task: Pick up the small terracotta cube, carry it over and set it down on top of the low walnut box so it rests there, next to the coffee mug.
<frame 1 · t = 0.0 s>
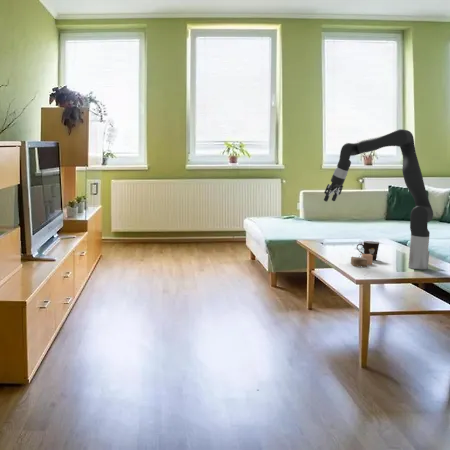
hand: (329, 200, 329), 31 cm above the table, tool tilted 20°, fingers open, 8 cm apart
walnut box: (358, 265, 296), on the table
coffee mug: (367, 259, 316), on the table
terracotta cube: (366, 263, 302), on the table
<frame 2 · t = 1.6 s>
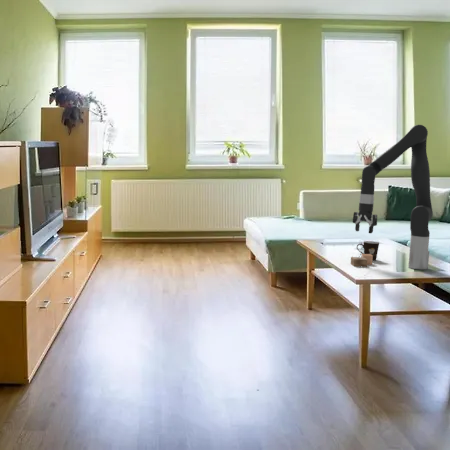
hand: (363, 232, 302), 17 cm above the table, tool pointing down, fingers open, 8 cm apart
nothing on the table moved.
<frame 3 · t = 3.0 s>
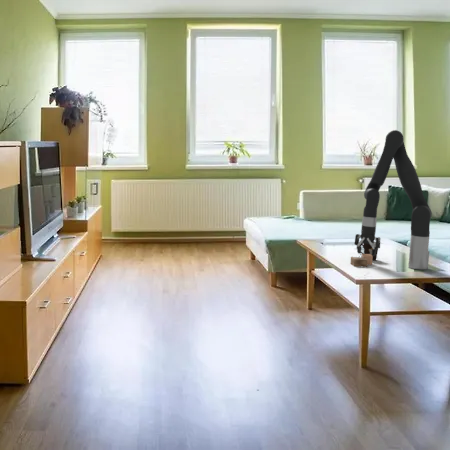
hand: (366, 254, 302), 5 cm above the table, tool pointing down, fingers open, 8 cm apart
terracotta cube: (366, 263, 302), on the table, touching gripper
everything else where it was.
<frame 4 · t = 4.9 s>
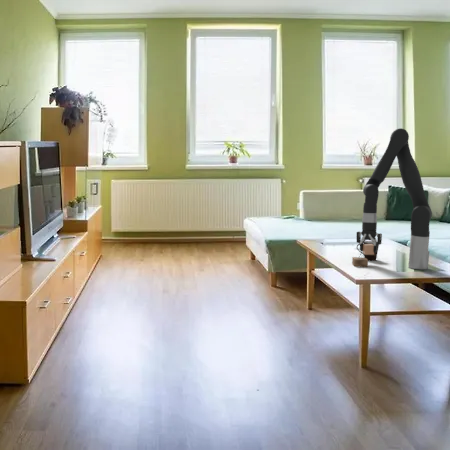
hand: (368, 251, 300), 7 cm above the table, tool pointing down, fingers closed on terracotta cube, 7 cm apart
terracotta cube: (368, 253, 301), point 6 cm above the table, touching gripper
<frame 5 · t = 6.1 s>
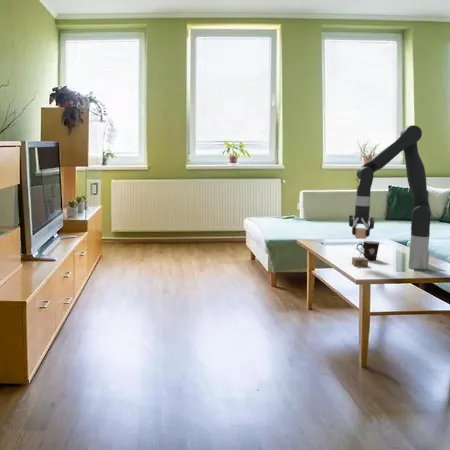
hand: (360, 235, 294), 16 cm above the table, tool pointing down, fingers closed on terracotta cube, 7 cm apart
terracotta cube: (360, 237, 295), point 15 cm above the table, touching gripper
everything else where it was.
when the fingers open (6 cm above the table, at t = 8.4 s): terracotta cube drops 1 cm, resting on walnut box.
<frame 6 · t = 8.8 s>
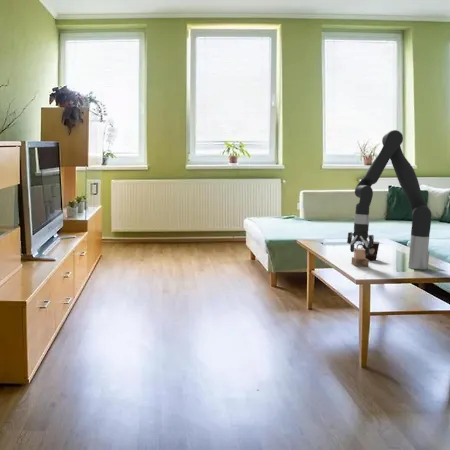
hand: (359, 253, 295), 7 cm above the table, tool pointing down, fingers open, 8 cm apart
walnut box: (359, 265, 296), on the table, touching terracotta cube
terracotta cube: (359, 258, 296), point 4 cm above the table, touching walnut box
everything else where it was.
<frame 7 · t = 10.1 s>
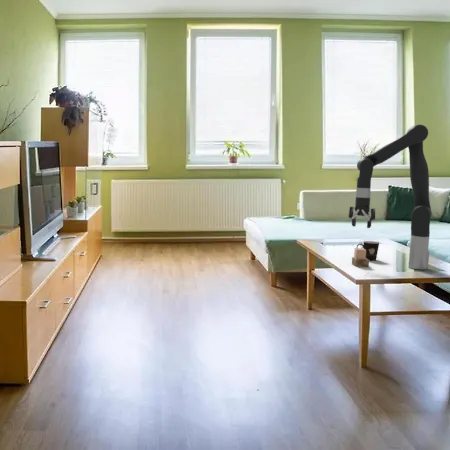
hand: (361, 227, 294), 20 cm above the table, tool pointing down, fingers open, 8 cm apart
walnut box: (360, 265, 295), on the table
terracotta cube: (359, 258, 295), point 4 cm above the table
everything else where it was.
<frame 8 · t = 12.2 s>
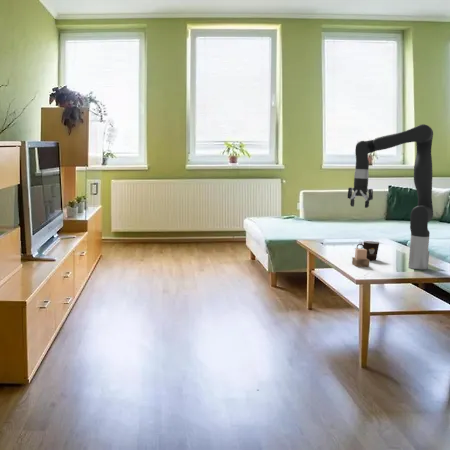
hand: (359, 207, 306), 30 cm above the table, tool pointing down, fingers open, 8 cm apart
walnut box: (360, 266, 295), on the table, touching terracotta cube
terracotta cube: (360, 258, 295), point 4 cm above the table, touching walnut box
everything else where it was.
at the end: terracotta cube 0.3 cm off-centre on the walnut box, point 4.0 cm above the walnut box's base; terracotta cube tilted 0°; the gripper is holding nothing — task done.
